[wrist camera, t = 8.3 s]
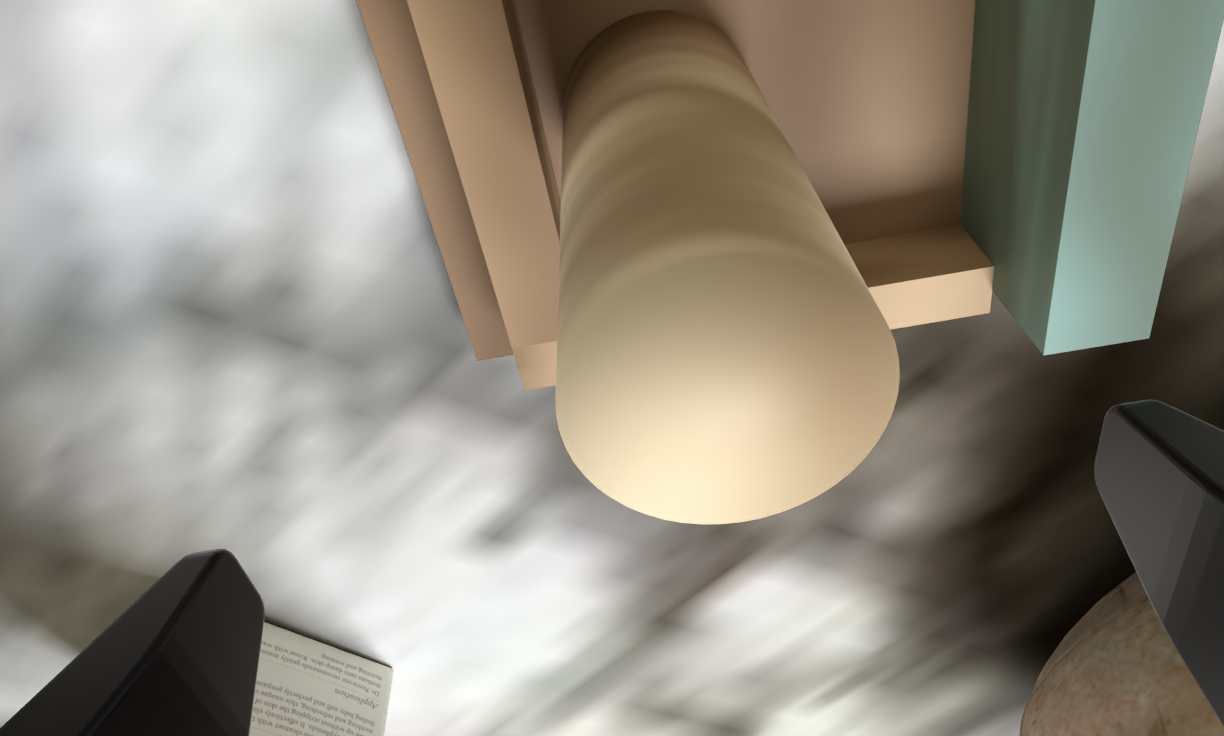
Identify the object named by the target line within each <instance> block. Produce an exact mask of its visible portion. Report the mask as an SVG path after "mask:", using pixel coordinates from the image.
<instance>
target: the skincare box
mask: <svg viewBox="0 0 1224 736" xmlns="http://www.w3.org/2000/svg"><path fill="white" fill-rule="evenodd" d="M392 678H393V669H392V668H390V667H387V666H384V665H381V664H378V663H376V662H373V661H370V660H367V659H365V658H362V657H359V656H356V655H354V654H351V653H348V652H345V651H343V650H340V649H337V648H334V647H332V646H329V645H326V644H324V643H321V642H318V641H315V640H313V639H310V638H307V637H304V636H302V635H299V634H296V633H293V632H291V631H288V630H285V629H282V628H280V627H277V626H274V625H272V624H269V623H266V622H264V627H263V634H262V642H261V650H260V657H259V665H258V673H257V680H256V688H255V696H254V703H253V711H252V719H251V726H250V734H249V736H384V730H385V723H386V716H387V710H388V704H389V697H390V691H391V684H392Z"/></svg>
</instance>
